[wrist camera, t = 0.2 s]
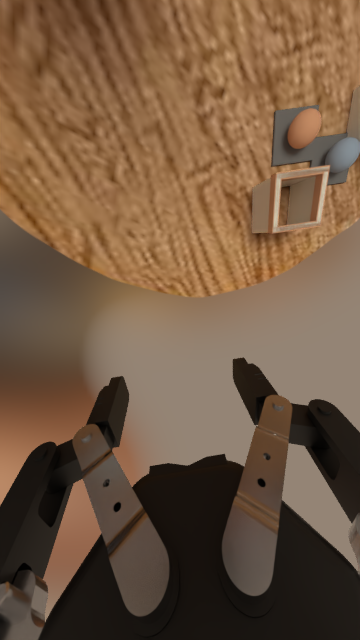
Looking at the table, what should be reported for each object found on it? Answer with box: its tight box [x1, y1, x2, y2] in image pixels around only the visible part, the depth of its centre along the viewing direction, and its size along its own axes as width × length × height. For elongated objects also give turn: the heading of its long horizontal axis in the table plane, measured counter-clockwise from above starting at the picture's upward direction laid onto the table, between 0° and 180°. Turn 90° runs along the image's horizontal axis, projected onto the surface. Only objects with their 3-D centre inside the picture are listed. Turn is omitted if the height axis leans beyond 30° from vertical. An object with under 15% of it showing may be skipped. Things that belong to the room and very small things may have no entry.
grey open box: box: [252, 165, 330, 234], centre depth 32 cm, size 8×8×8 cm
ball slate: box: [325, 137, 360, 173], centre depth 31 cm, size 4×4×4 cm
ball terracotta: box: [288, 108, 322, 149], centre depth 29 cm, size 4×4×4 cm
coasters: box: [272, 105, 349, 185], centre depth 32 cm, size 11×14×1 cm
